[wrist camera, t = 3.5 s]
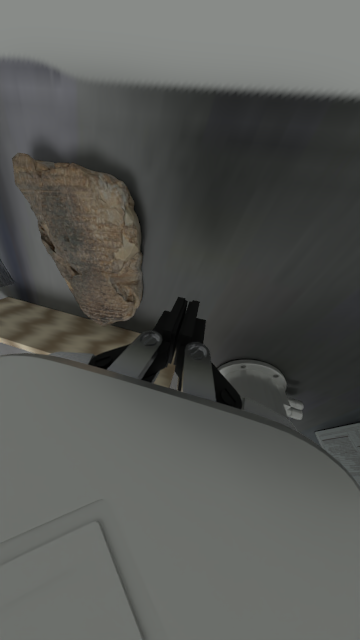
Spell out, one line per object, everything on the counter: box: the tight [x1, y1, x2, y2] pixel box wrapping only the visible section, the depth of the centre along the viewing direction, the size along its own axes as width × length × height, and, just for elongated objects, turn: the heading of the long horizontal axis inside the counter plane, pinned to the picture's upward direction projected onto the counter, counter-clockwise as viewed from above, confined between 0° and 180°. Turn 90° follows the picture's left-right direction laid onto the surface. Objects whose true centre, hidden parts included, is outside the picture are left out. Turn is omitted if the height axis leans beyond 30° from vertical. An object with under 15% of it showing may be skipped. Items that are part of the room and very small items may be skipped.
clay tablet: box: [12, 153, 143, 326], centre depth 19 cm, size 14×5×20 cm
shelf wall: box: [0, 297, 176, 388], centre depth 25 cm, size 40×2×9 cm, turn 83°
